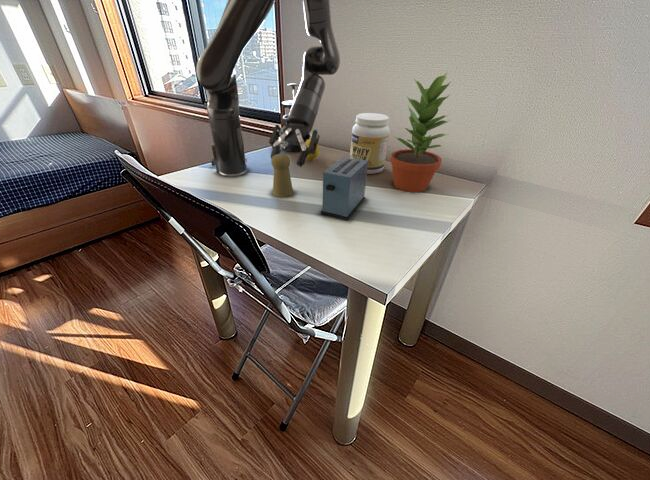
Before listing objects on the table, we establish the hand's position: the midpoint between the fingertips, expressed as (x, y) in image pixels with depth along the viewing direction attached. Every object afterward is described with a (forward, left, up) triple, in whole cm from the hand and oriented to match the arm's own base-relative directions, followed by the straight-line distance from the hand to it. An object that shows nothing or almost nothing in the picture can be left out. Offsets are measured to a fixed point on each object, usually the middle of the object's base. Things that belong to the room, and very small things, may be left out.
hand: (286, 162), depth 84 cm
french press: (-13, +39, -8) cm, 42 cm away
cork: (0, -2, -8) cm, 9 cm away
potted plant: (+35, +16, -8) cm, 39 cm away
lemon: (-2, +27, -8) cm, 28 cm away
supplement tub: (+19, +26, -8) cm, 33 cm away
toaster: (+19, -5, -8) cm, 21 cm away
